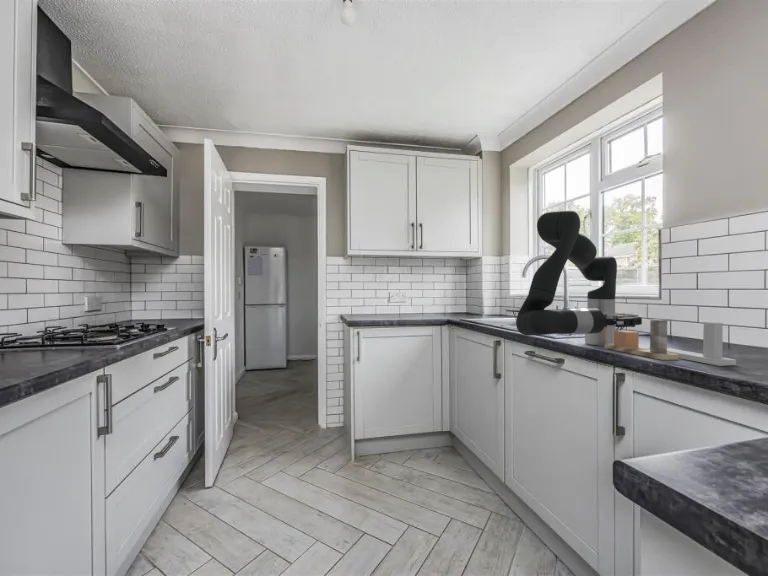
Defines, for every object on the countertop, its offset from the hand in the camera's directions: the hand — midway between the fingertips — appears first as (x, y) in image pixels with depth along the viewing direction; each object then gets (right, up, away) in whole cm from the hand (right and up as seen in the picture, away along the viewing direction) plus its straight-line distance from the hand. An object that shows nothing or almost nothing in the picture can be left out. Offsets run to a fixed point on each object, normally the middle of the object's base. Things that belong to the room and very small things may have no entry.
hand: (628, 319), depth 118 cm
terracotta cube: (+7, -10, +13) cm, 18 cm away
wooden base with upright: (+8, -12, +8) cm, 17 cm away
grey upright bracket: (+19, -12, 0) cm, 22 cm away
